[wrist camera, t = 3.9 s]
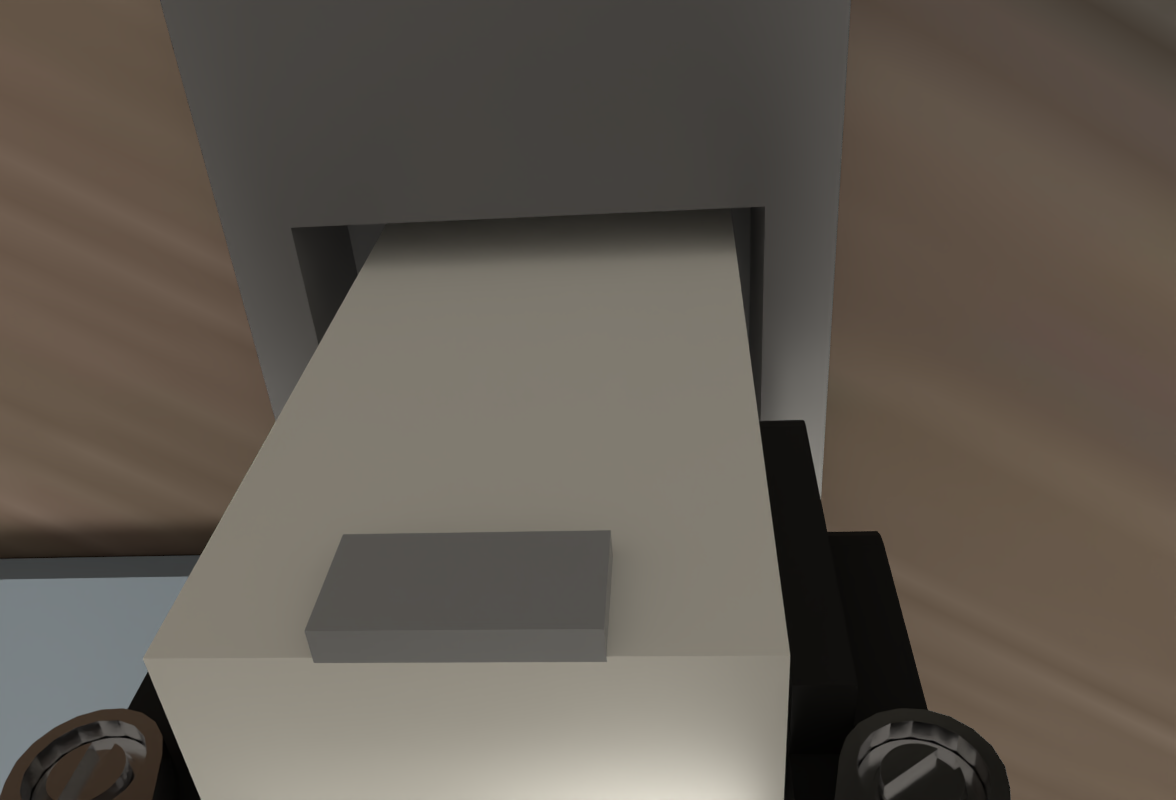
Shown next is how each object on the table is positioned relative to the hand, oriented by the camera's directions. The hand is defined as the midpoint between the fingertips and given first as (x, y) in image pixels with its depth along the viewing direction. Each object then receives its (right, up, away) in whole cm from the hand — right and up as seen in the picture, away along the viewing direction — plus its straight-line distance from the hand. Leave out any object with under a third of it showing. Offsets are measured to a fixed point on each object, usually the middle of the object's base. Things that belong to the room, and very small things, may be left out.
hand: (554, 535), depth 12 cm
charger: (0, +2, +3) cm, 3 cm away
